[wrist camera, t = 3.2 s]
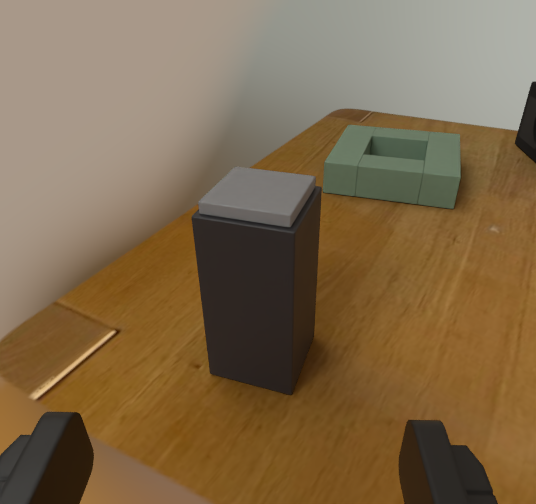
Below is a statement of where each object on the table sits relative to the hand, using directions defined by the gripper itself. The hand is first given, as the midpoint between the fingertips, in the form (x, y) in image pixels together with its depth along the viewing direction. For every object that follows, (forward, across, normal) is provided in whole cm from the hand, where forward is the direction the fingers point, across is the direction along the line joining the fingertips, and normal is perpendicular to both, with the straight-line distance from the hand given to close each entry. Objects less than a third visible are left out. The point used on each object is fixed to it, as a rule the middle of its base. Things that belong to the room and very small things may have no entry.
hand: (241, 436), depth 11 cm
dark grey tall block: (+11, 0, +8) cm, 14 cm away
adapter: (+36, -12, +8) cm, 39 cm away
